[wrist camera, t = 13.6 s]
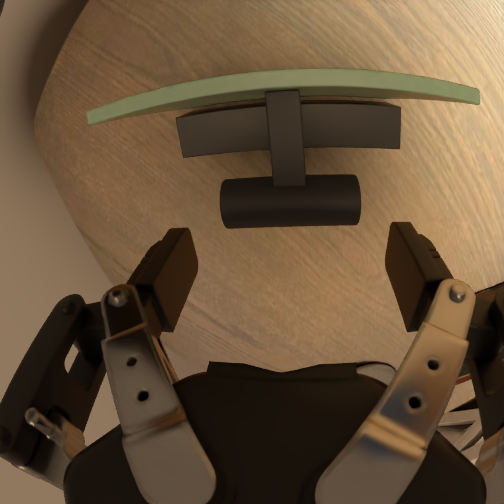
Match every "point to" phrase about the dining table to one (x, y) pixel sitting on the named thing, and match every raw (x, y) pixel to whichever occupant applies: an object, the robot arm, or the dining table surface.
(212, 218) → the dining table surface
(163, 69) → the dining table surface
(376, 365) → the seashell
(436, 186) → the dining table surface
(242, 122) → the stand
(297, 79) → the sign
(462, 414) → the wooden side table
